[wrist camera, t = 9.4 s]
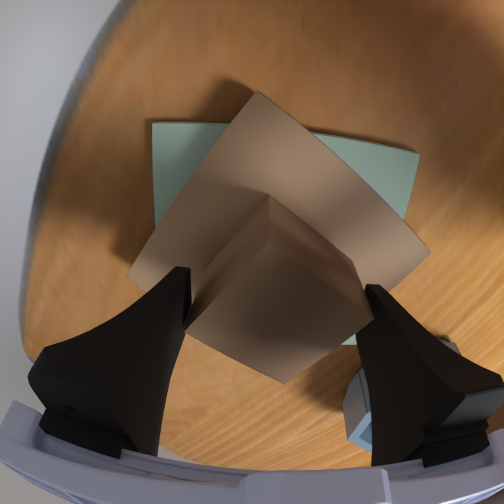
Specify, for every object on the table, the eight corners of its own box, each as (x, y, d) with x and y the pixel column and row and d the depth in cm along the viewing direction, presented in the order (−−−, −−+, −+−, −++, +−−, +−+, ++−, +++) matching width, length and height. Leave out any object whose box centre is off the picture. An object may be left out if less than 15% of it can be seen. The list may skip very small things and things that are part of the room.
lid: (423, 242, 14) (467, 303, 10) (285, 359, 19) (287, 426, 15) (257, 90, 11) (251, 93, 7) (131, 266, 16) (93, 330, 12)
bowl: (478, 336, 19) (498, 373, 15) (425, 407, 24) (435, 441, 20) (370, 338, 19) (384, 387, 15) (331, 414, 24) (335, 454, 21)
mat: (414, 151, 13) (420, 154, 12) (356, 338, 19) (358, 345, 18) (156, 121, 13) (152, 123, 12) (168, 322, 19) (166, 329, 18)
